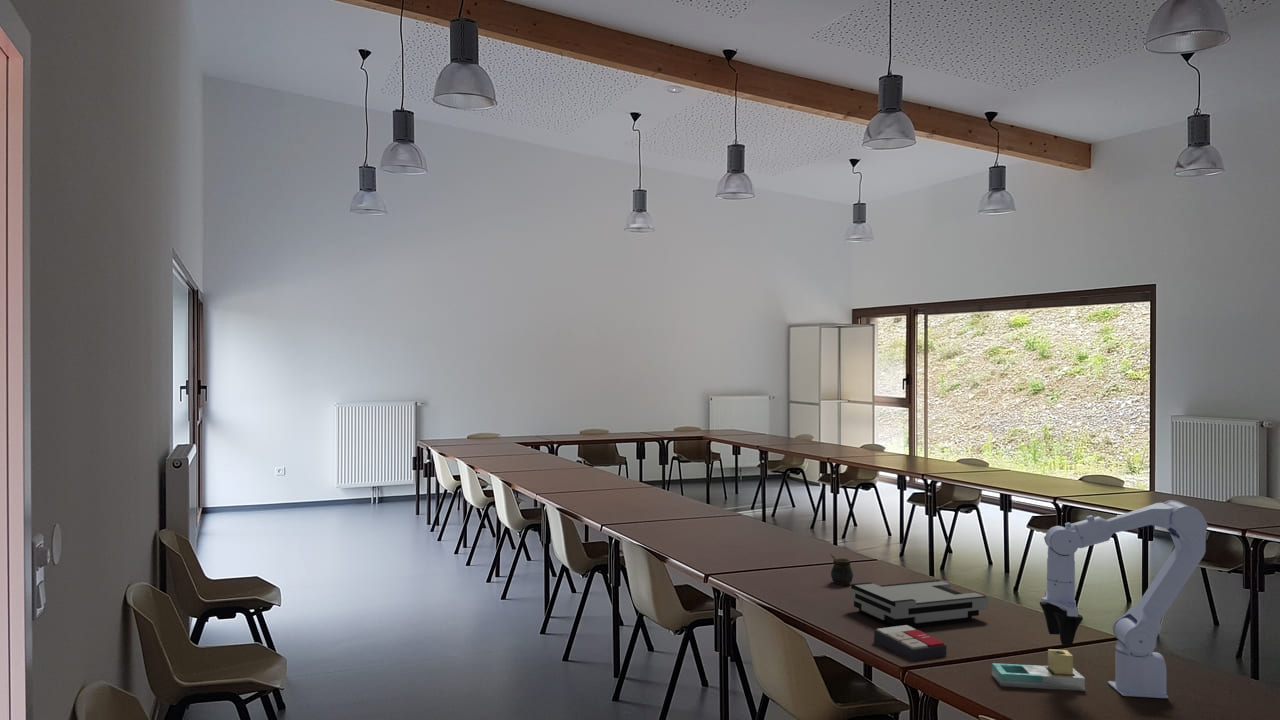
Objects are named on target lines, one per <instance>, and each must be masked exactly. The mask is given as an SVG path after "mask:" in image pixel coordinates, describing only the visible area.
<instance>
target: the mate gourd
mask: <svg viewBox="0 0 1280 720" xmlns="http://www.w3.org/2000/svg"><path fill="white" fill-rule="evenodd" d="M829 555H830V556H831V557H832V558H833V566H832V569H831V571H830V576H831V579H832V581H833V582H834V583H835V584H836V585H839V586H847V585H850V584H852V581H853V577H854V572H853V570H852V567H851V559H848V558H844V557H840V558H835V557H834V556H833V554H832V553H829Z"/></svg>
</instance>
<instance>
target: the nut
mask: <svg viewBox="0 0 1280 720" xmlns="http://www.w3.org/2000/svg"><path fill="white" fill-rule="evenodd" d="M1047 666H1048V671H1049V672H1050V673H1051V674H1052V675H1062V676H1073V668H1074V656H1073V654H1072V653H1070V652H1069V651H1068V650H1067V649H1052V648H1049V649H1047Z"/></svg>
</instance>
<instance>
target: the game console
mask: <svg viewBox="0 0 1280 720" xmlns="http://www.w3.org/2000/svg"><path fill="white" fill-rule="evenodd" d="M850 584H851V585H850V587H851V588H850V593H851V594H850V600H852V601H853V607H854V608H857V609H859V610H858V611H859V612H862V613H863V614H866V615H868V616H869V617H876V618H878V619H880V620H882V621H885V622H886V625H889V626H890V627H895V626H903V625H908V626H910V627H912V628H914V629H917V628H926V627H936V626H944V625H945V626H946V625H953V624H955V625H956V624H963V623H968V622H969V623H971V622H972V621H973V617H978V616H980V611H981V610H988V609H989V597H988V596H986V595H983V594H980V593H977V592H969V593H962V592H960V591H956V590H954V589H951V584H950V583H948V582H947V581H942V580H940V579H936V580H934V579H933V580H924V581H914V582H913V581H912V582H904V583H902V582H901V583H894V584H891V583H890V584H880V585H878V584H876V583H874V582H860V583H850Z"/></svg>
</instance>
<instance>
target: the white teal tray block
mask: <svg viewBox="0 0 1280 720" xmlns="http://www.w3.org/2000/svg"><path fill="white" fill-rule="evenodd" d="M991 676H992V677H993V678H994V679H995V680H996V682H997V683H998V684H999V685H1000V687H1008V688H1009V687H1011V688H1026V689H1027V688H1028V689H1031V688H1032V689H1046V690H1047V689H1048V690H1065V691H1081V692H1082V691H1083V692H1084V691H1086V678H1085V677H1084V676H1083V675H1082V674H1081V673H1080V672H1078V671H1077V670H1076V669H1075V667H1073V676H1062V675H1052V674H1051V673H1050V672H1049V671H1048V665H1036V664H1035V665H1034V664H1033V665H1032V664H1013V663H997V662H996V663H991Z"/></svg>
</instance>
